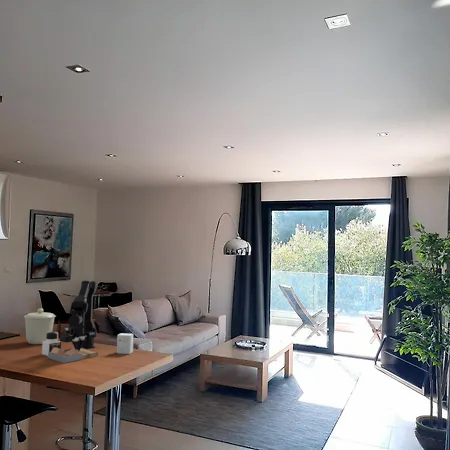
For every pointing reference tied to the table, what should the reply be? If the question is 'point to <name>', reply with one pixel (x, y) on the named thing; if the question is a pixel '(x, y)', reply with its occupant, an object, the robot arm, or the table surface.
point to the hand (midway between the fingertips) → (77, 353)
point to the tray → (64, 357)
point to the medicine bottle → (50, 343)
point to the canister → (38, 326)
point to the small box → (124, 343)
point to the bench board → (86, 353)
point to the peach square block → (72, 352)
